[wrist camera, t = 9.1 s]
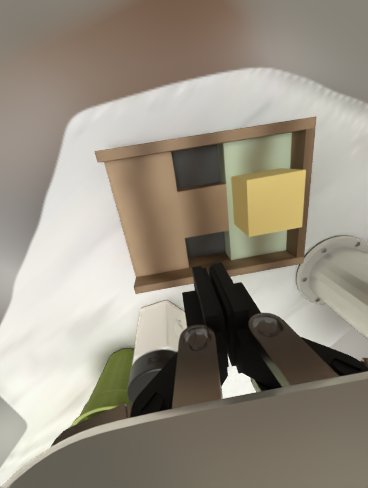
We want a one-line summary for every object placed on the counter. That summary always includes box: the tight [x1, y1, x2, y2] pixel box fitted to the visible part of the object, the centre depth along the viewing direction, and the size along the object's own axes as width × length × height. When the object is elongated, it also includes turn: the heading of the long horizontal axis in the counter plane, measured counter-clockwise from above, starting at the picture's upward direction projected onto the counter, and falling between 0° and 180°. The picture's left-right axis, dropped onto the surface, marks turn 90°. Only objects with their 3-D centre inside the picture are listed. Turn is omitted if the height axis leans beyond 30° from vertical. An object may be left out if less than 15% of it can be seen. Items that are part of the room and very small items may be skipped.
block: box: [231, 168, 306, 237], centre depth 24 cm, size 6×6×5 cm
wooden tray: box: [95, 117, 316, 294], centre depth 26 cm, size 22×17×6 cm
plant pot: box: [71, 349, 134, 426], centre depth 33 cm, size 12×12×11 cm
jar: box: [127, 300, 187, 403], centre depth 30 cm, size 9×8×12 cm
